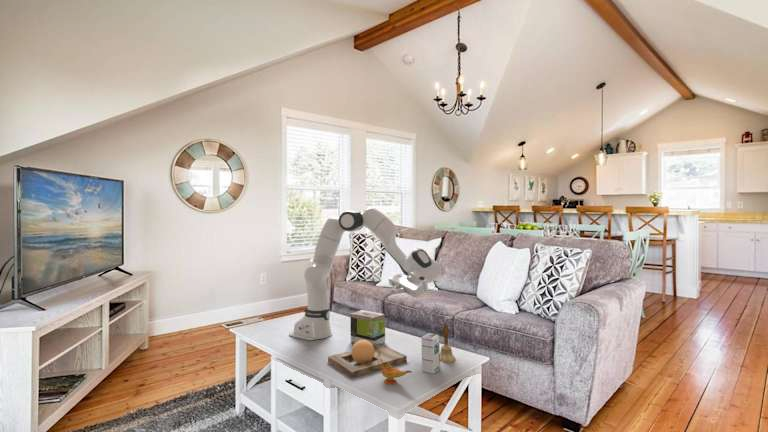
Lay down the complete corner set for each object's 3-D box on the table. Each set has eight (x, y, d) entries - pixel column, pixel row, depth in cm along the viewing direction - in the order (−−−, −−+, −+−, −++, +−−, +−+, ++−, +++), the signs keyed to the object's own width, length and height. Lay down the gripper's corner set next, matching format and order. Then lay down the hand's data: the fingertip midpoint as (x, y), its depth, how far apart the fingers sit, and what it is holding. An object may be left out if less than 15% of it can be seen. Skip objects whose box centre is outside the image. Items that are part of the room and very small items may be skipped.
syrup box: (434, 374, 161) (434, 338, 160) (421, 370, 164) (421, 336, 163) (439, 369, 165) (440, 334, 165) (427, 366, 169) (427, 332, 168)
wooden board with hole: (379, 348, 189) (379, 343, 189) (406, 361, 173) (406, 356, 173) (328, 362, 173) (328, 356, 173) (352, 378, 157) (352, 372, 156)
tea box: (385, 342, 197) (385, 313, 197) (373, 348, 189) (373, 318, 189) (362, 336, 206) (362, 308, 206) (349, 342, 198) (349, 313, 198)
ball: (376, 350, 178) (363, 369, 173) (359, 336, 178) (345, 355, 174) (380, 348, 168) (367, 368, 164) (362, 333, 169) (348, 353, 165)
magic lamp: (405, 393, 144) (405, 363, 144) (370, 378, 156) (370, 351, 156) (417, 386, 149) (417, 358, 149) (382, 373, 161) (382, 346, 161)
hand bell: (444, 364, 171) (444, 327, 170) (433, 357, 178) (433, 322, 178) (459, 360, 175) (459, 324, 174) (448, 354, 182) (448, 319, 182)
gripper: (400, 268, 200) (379, 279, 192) (428, 281, 184) (406, 293, 176) (402, 279, 202) (381, 290, 194) (430, 292, 186) (408, 305, 178)
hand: (393, 291), depth 185 cm, fingers closed
